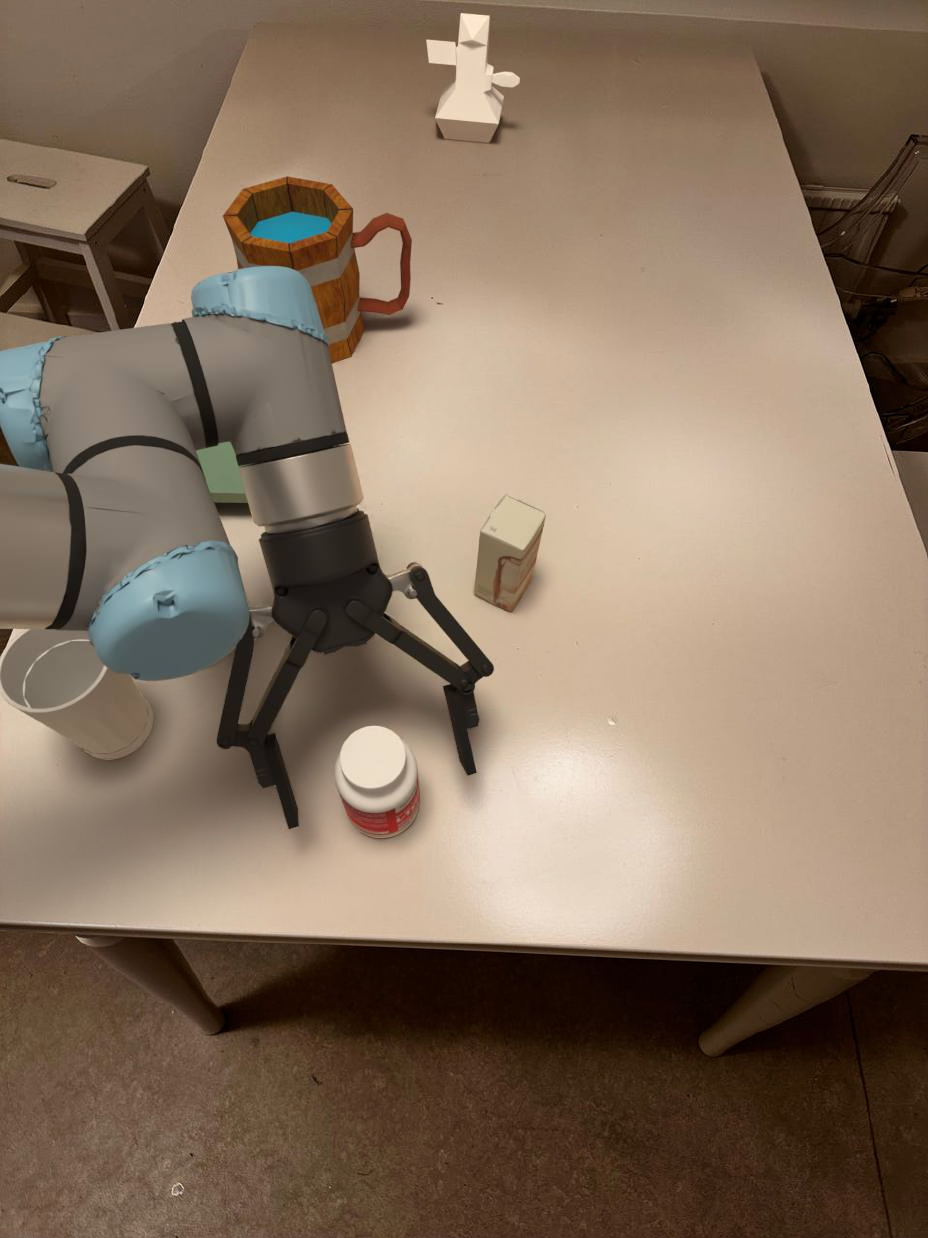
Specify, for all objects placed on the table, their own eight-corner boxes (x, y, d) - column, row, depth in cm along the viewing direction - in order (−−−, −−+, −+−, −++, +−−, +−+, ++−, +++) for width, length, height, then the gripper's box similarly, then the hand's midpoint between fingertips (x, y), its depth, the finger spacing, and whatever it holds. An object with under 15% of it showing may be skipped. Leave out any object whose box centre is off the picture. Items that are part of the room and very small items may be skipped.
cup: (178, 736, 64) (127, 675, 53) (87, 787, 61) (15, 733, 51) (142, 667, 67) (87, 597, 57) (54, 713, 65) (-19, 648, 54)
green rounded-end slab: (259, 518, 76) (250, 493, 72) (141, 515, 76) (127, 490, 72) (288, 370, 87) (281, 342, 84) (185, 367, 87) (174, 339, 83)
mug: (253, 374, 86) (220, 255, 74) (254, 300, 93) (223, 179, 80) (420, 362, 88) (417, 244, 75) (409, 290, 95) (404, 170, 82)
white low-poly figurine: (512, 148, 113) (521, 42, 101) (421, 140, 113) (419, 33, 101) (517, 120, 117) (526, 15, 105) (429, 111, 117) (428, 6, 106)
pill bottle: (409, 847, 60) (403, 808, 50) (336, 830, 60) (316, 788, 51) (428, 775, 63) (426, 725, 53) (358, 759, 63) (344, 707, 54)
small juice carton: (512, 614, 71) (522, 553, 62) (472, 594, 72) (476, 531, 63) (536, 575, 73) (549, 511, 65) (497, 556, 74) (504, 491, 66)
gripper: (473, 476, 56) (522, 729, 62) (133, 553, 52) (220, 817, 58) (500, 481, 49) (553, 766, 55) (109, 571, 45) (211, 870, 50)
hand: (382, 793), depth 56 cm, fingers open, 13 cm apart
